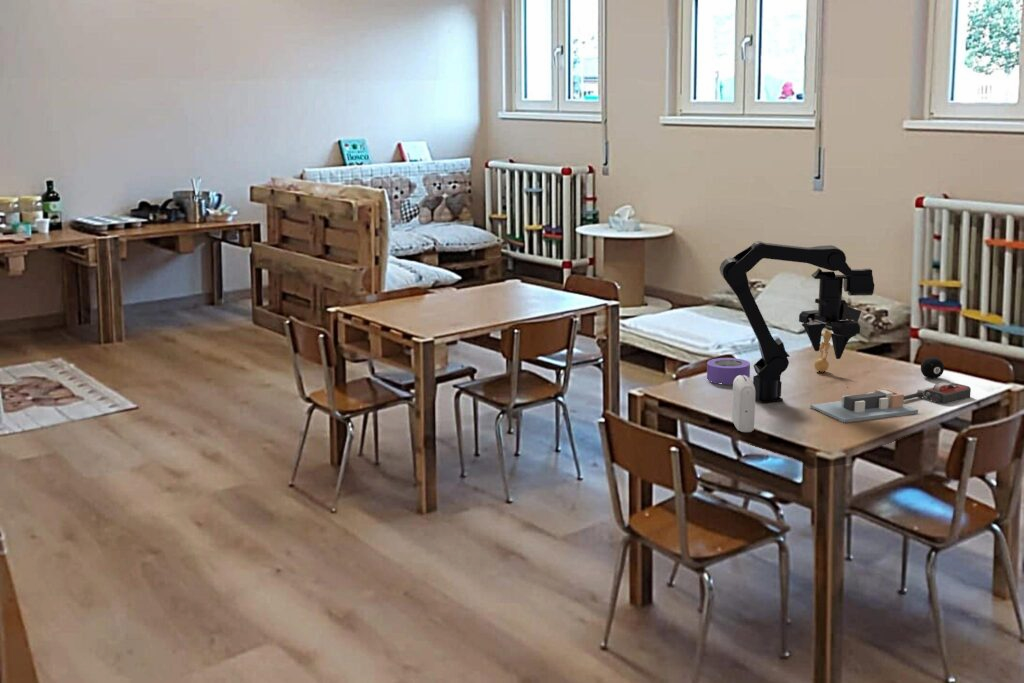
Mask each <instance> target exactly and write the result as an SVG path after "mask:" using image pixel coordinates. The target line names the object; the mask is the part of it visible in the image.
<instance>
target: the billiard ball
mask: <svg viewBox="0 0 1024 683" xmlns="http://www.w3.org/2000/svg"><path fill="white" fill-rule="evenodd" d="M944 371H945V366H944V363H943V361H942V359H940V358H939V357H936V356H930V357H929V356H928V357H927V358H925V359H923V360H922V362H921V363H920V372H921V374H922V375H923V376H924V377H926V378H928V379H930V378H932V379H934V378H935V379H938V378H940V377H941V376H942V375H943V373H944ZM932 379H931V380H932Z"/></svg>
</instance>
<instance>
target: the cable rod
mask: <svg viewBox="0 0 1024 683" xmlns="http://www.w3.org/2000/svg"><path fill="white" fill-rule="evenodd" d="M866 393H867V394H866ZM866 393H860V394H853V395H851V396H848V395H844V396H845V399H844V408H846V409H848V410H850V411H854V408H855V401H865V409H870V408H878V407H879V398H889V400H888V406H890V401H891V395H893V393H892V392H889V391H887V390H878V392H875V391H874V393H872V392H866Z"/></svg>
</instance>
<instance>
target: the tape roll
mask: <svg viewBox="0 0 1024 683" xmlns="http://www.w3.org/2000/svg"><path fill="white" fill-rule="evenodd" d="M750 374H751V362H749V361H748V360H746V359H742V358H734V357H718V358H713V359H709V360H708V361H707V363H706V380H707V379H708V380H710V381H712V382H716V383H722V384H721V385H723V384H733V381H734V379H735V378H736V377H737V376H739V375H741V376H743V375H745V376H747V377H749V378H750V377H751V375H750ZM750 379H751V378H750ZM708 380H707V381H708ZM710 381H709V382H710ZM712 382H711V383H712ZM716 383H715V384H716Z"/></svg>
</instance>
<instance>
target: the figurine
mask: <svg viewBox="0 0 1024 683" xmlns="http://www.w3.org/2000/svg"><path fill="white" fill-rule="evenodd" d="M831 334H833V332H832V331H830V330H829V329H828V330H827V329H825V330H824V332H822V334H821V337H822V338H823V341H821V342H820V348H819V352H820V356H819V357H818V359H816V360H814V361H815V362H814V364H813V366H814V369H815V370H816V371H817V372H819V371H820V372H819V373H825V372H826V371H828V370H829V367H830V364H829V361H828V360H827V357H828V353H829V349H830V347H831V343H830V340H832V337H831ZM823 349H824V350H823ZM824 351H825V355H824V357H823V354H824ZM824 371H825V372H824Z"/></svg>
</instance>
